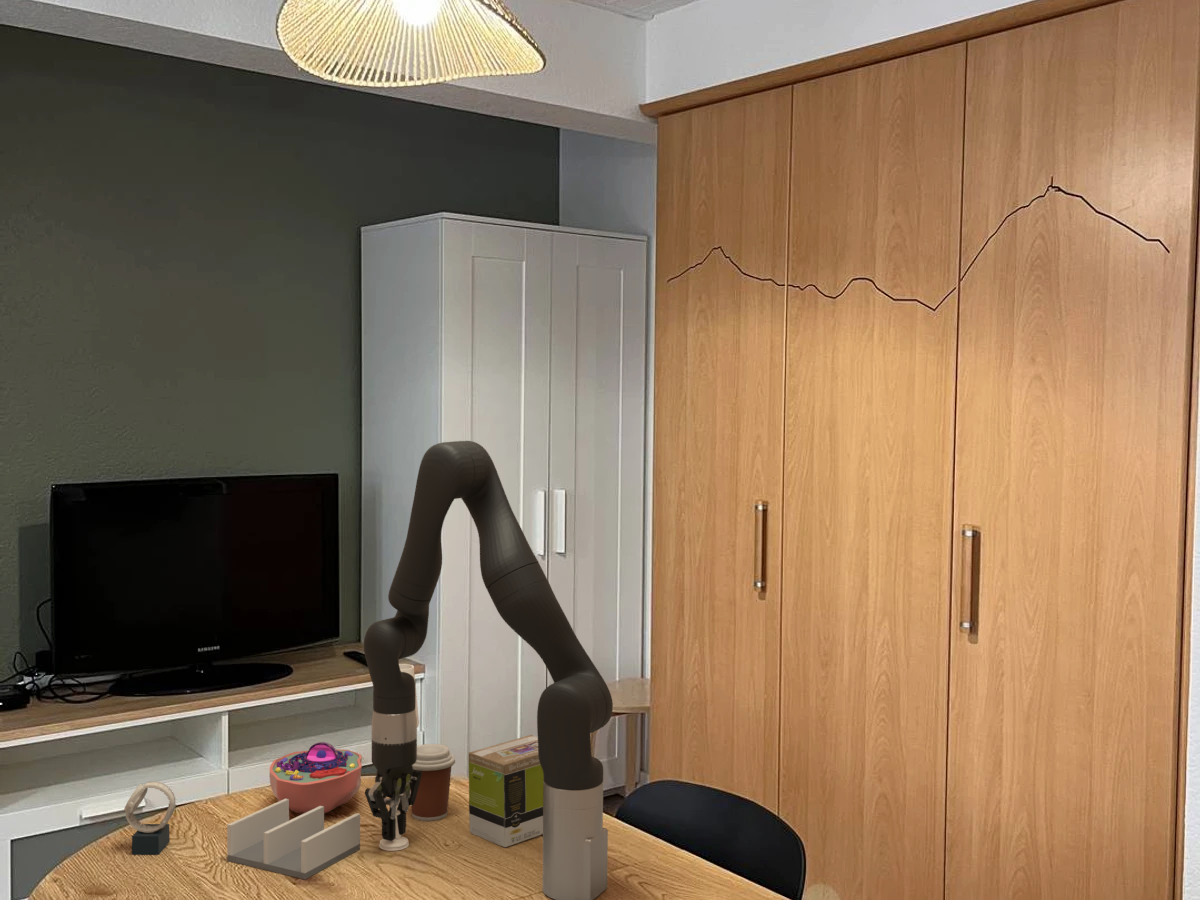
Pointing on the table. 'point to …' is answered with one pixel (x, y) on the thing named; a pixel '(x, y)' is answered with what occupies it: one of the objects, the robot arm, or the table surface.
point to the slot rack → (291, 840)
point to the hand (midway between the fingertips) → (394, 836)
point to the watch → (149, 835)
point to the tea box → (506, 792)
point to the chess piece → (398, 842)
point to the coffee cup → (432, 782)
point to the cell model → (316, 777)
